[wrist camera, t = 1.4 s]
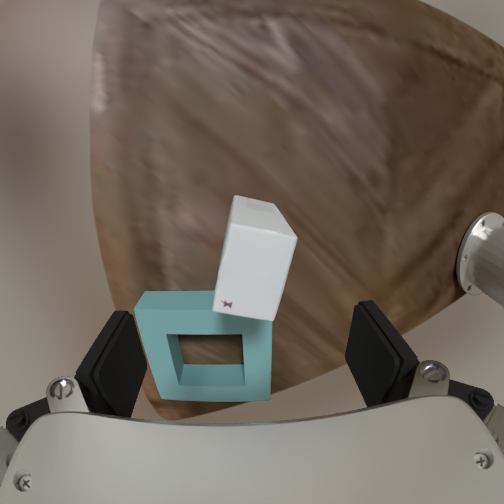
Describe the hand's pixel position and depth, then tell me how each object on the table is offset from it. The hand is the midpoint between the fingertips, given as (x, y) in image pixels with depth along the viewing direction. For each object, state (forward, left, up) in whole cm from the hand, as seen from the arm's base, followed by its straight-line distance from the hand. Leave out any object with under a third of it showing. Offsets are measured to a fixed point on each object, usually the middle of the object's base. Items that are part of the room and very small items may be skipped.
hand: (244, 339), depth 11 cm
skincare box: (-1, 0, -18) cm, 18 cm away
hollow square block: (+5, +14, -18) cm, 23 cm away
